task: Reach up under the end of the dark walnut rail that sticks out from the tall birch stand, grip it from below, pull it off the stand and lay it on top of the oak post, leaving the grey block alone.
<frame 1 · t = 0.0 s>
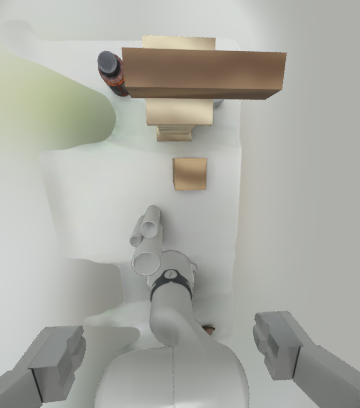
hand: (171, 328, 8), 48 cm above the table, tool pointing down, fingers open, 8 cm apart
vase: (151, 221, 57), on the table
supplement bottle: (121, 85, 47), on the table
grey block: (208, 98, 49), on the table
oak post: (184, 169, 54), on the table
birch stand: (173, 121, 50), on the table
walnut rail: (200, 83, 25), point 26 cm above the table, touching birch stand
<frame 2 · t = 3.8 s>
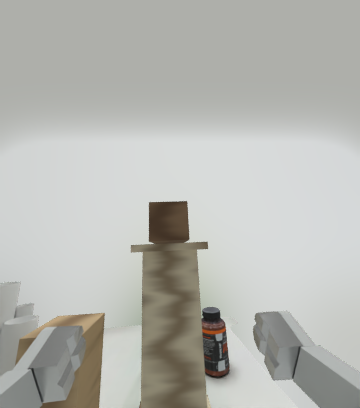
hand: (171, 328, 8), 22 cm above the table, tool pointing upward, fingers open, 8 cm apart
supplement bottle: (215, 369, 37), on the table
walnut rail: (169, 243, 27), point 26 cm above the table, touching birch stand
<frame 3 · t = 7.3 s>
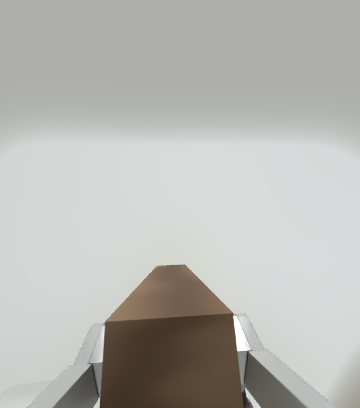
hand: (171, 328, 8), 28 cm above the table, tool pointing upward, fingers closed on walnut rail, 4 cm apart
walnut rail: (172, 327, 14), point 26 cm above the table, touching birch stand, gripper
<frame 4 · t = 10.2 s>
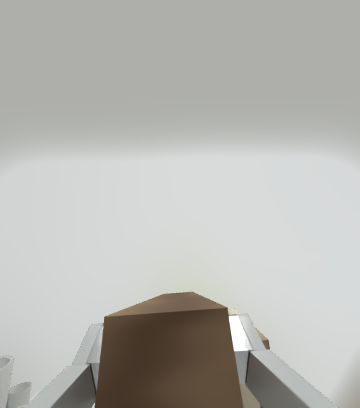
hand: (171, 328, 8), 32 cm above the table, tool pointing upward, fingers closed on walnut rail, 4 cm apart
walnut rail: (178, 357, 13), point 28 cm above the table, tilted 11°, touching gripper
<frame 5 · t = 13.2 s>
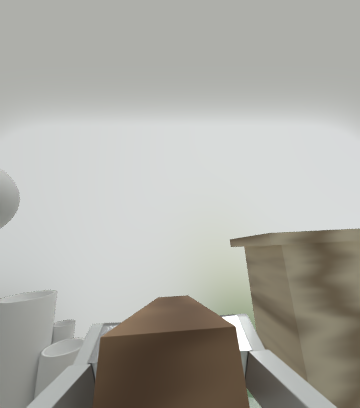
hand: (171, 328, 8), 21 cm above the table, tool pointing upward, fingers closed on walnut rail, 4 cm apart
walnut rail: (174, 366, 12), point 17 cm above the table, tilted 11°, touching gripper
when the fingers open (20 cm above the table, at t = 14.5 s): walnut rail stays where it is, resting on oak post.
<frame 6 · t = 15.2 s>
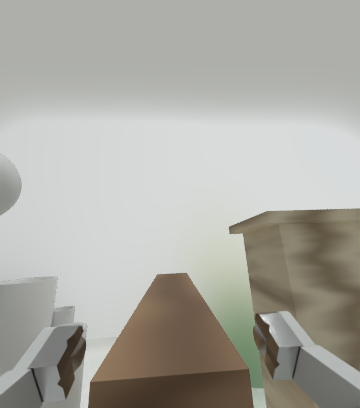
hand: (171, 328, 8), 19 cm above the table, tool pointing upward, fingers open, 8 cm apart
walnut rail: (173, 347, 13), point 16 cm above the table, touching oak post
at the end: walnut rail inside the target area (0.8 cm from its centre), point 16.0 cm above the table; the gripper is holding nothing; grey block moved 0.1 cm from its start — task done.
